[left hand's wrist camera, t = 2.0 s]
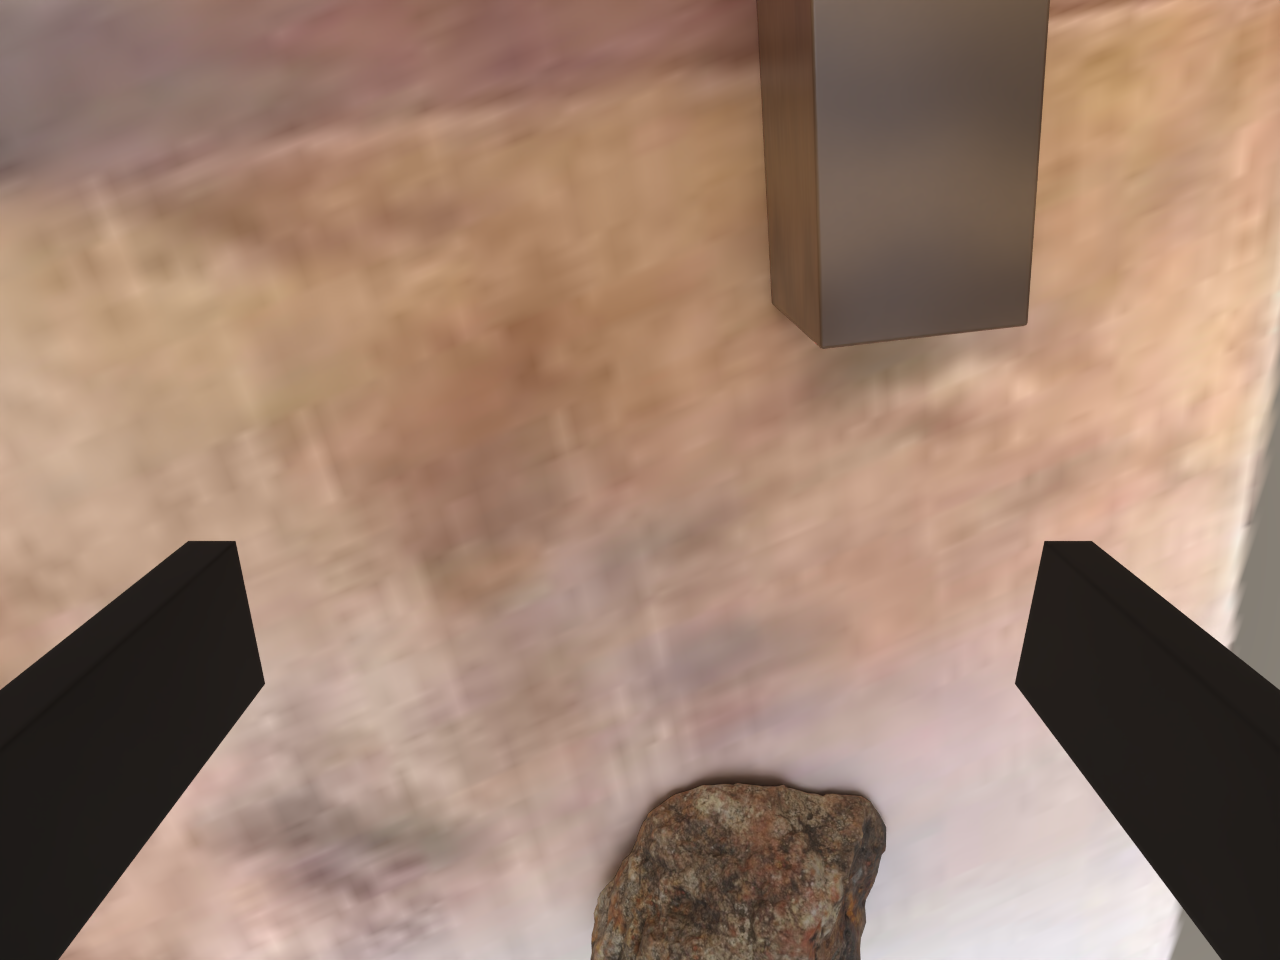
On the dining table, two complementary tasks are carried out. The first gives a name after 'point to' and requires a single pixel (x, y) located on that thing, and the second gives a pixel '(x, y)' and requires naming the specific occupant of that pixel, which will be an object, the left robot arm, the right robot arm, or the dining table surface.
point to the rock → (744, 878)
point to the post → (901, 163)
